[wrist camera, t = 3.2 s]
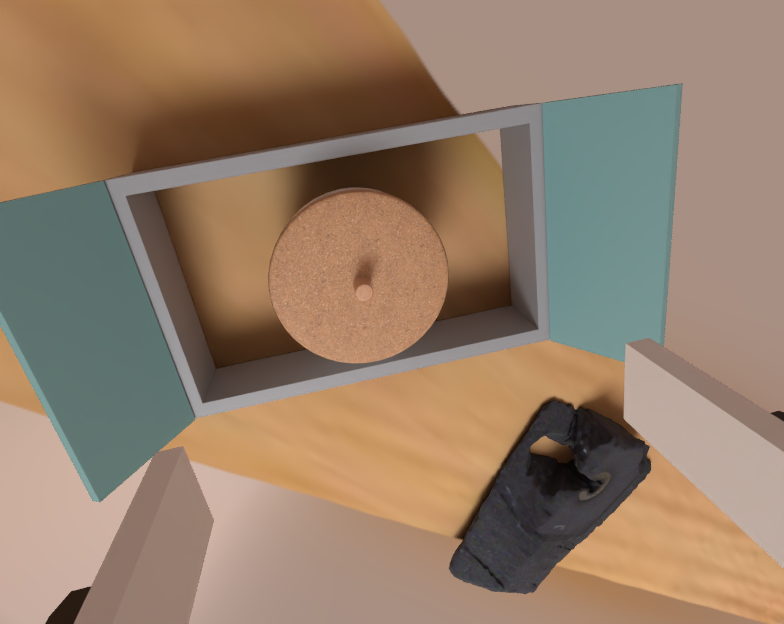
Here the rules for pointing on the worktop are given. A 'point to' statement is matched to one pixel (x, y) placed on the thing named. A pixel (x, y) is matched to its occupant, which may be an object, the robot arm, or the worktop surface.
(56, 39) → the worktop surface
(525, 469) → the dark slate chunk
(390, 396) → the worktop surface
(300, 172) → the worktop surface
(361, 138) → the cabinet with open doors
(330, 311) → the lidded jar
